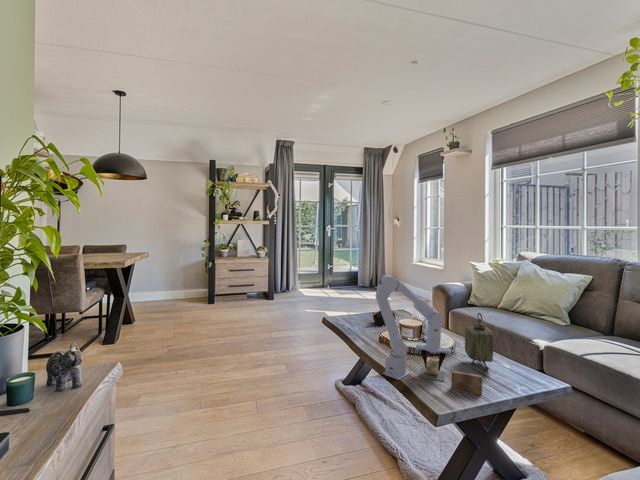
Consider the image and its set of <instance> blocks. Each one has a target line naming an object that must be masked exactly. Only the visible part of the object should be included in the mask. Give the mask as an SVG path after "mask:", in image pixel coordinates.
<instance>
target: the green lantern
mask: <svg viewBox="0 0 640 480" xmlns="http://www.w3.org/2000/svg"><path fill="white" fill-rule="evenodd" d="M479 315H480V318H479ZM477 321H478V322H475V323H474V325H469V326H466V327H465V329H464V352H465V353H466V355H467V356H468V358H470V359H471V362H470V363H471V365H473V366H474V365H476V364H475V361H476V362H477V361H478V362H482V364H483V365H484V366H485V368H484V369H485V371H489V369H490V367H489V366H487V363H486V362H488V363H492V362H493V358H494V334H493V332H492V330H490V328H488V327H487V326H486V325H485V324H484V323H483V315H482V313H480V312H478V313H477Z"/></svg>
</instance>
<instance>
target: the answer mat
mask: <svg viewBox="0 0 640 480" xmlns="http://www.w3.org/2000/svg"><path fill="white" fill-rule="evenodd" d="M445 377H446V371H443V370H440V371H439V374H438V375H436V374H431V373H426V368H425V367H421V369H420V373H419V378H421V379H427V380H431V381H437V382H441V383H445Z"/></svg>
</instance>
